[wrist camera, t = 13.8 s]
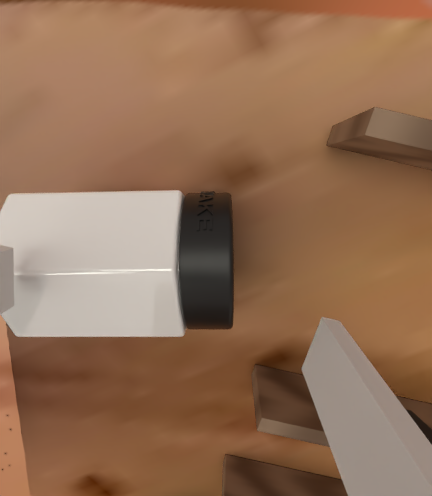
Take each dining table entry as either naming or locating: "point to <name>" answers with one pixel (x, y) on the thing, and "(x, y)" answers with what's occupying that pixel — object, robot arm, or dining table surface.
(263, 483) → the lane organizer
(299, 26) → the dining table surface
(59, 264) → the jar
